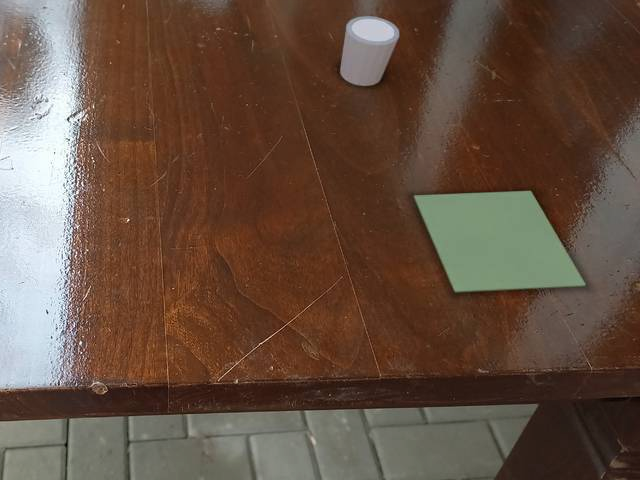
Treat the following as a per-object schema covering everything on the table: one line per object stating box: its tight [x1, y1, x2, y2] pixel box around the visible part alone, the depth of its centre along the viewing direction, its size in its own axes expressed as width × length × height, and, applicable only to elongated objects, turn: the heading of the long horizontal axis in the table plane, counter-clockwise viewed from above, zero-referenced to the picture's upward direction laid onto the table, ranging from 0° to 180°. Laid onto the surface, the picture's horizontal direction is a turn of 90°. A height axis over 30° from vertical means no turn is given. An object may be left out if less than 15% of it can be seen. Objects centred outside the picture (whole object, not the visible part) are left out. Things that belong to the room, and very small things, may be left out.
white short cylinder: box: [339, 15, 400, 87], centre depth 93 cm, size 7×7×7 cm
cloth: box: [413, 190, 586, 294], centre depth 76 cm, size 14×14×1 cm
